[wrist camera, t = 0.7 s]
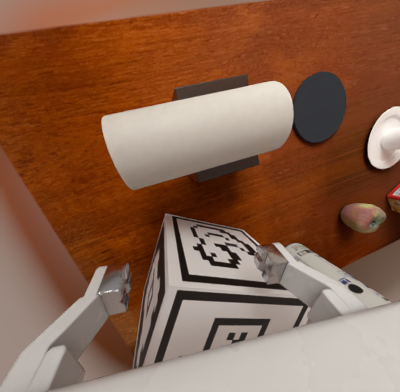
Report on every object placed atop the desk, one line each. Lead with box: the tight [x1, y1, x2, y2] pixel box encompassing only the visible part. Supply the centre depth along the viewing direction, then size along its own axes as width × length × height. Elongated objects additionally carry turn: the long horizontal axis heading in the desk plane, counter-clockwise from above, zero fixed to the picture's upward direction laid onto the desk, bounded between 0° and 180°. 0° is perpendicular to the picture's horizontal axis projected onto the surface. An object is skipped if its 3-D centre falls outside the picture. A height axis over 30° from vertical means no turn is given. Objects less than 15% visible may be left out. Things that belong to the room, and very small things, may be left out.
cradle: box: [172, 74, 259, 182], centre depth 20 cm, size 10×8×7 cm
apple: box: [340, 203, 386, 233], centre depth 32 cm, size 6×8×6 cm
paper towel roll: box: [101, 81, 294, 190], centre depth 15 cm, size 6×15×6 cm, turn 104°
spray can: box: [285, 243, 392, 308], centre depth 24 cm, size 7×7×20 cm
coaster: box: [292, 72, 346, 143], centre depth 27 cm, size 11×11×1 cm
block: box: [133, 213, 311, 369], centre depth 21 cm, size 15×15×15 cm
